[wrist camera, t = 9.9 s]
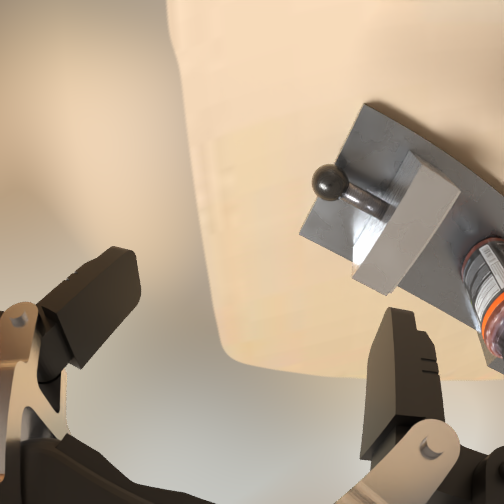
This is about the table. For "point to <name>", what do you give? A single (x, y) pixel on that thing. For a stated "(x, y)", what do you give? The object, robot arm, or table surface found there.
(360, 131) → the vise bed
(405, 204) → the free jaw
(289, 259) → the table surface
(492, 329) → the supplement bottle
